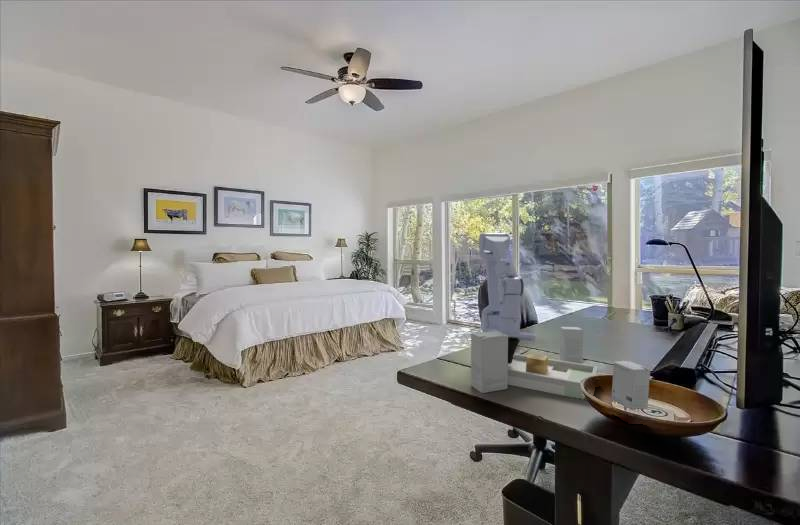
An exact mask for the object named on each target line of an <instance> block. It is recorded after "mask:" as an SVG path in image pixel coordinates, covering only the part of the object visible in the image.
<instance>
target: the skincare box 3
mask: <svg viewBox="0 0 800 525" xmlns="http://www.w3.org/2000/svg"><path fill="white" fill-rule="evenodd" d="M650 376H651V369H650V368H647V367H645V366H643V365H640V364H638V363H635V362H633V361H630V360H622V361H621V360H619V361H613V369H612V384H611V385H612V386H611V399H610V400H612V401H615V402H617V403H618V404H621V405H623V406H625V407H627V408H629V409H630V410H635V409H647V410H648V405H649V393H650V392H649V390H650Z"/></svg>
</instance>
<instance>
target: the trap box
mask: <svg viewBox="0 0 800 525" xmlns="http://www.w3.org/2000/svg"><path fill="white" fill-rule="evenodd" d="M527 356H528V355H525V354H521V353H520V354H519V353H514V355H513V360H512V363H511V364H510V363H508V379H507V380H508V381H507V386H513V387H517V388H518V387H519V388H523V389H530V390H534V391H539V392H545V393H547V394H548V393H549V394H553V395H554V394H555V395H560V396H565V397H569V398H575V397H576V398H575V399H579V398H582V399H581V400H584V397H583V395H582V393H581V391H580V388H579V384H580V383H581V382H580V381H581V380H582V379H584V378H585V377H587V376H590V375H591V376H592V375H596V374H598V373H599V372H598V371H599V366H597V365H591V364H585V363H583V364H579V363H573V362H566V361H560V359H551V358H548V370H547V371H546V373H545V374H538V373H532V372H527V371H526V357H527Z"/></svg>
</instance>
